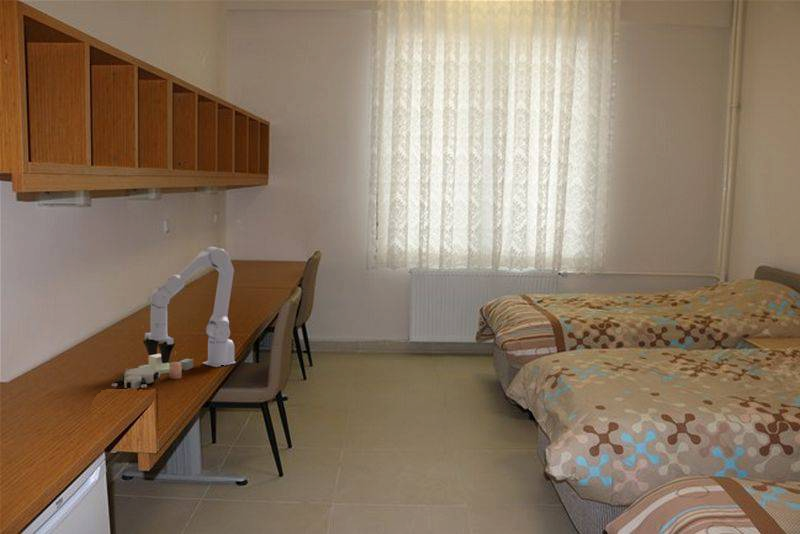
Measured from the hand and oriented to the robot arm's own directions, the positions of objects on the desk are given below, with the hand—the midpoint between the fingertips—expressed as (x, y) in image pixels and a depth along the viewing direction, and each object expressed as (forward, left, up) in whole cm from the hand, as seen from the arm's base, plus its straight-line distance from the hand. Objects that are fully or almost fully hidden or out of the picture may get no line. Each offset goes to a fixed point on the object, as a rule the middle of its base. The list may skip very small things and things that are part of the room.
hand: (158, 360), depth 254 cm
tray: (0, 0, -3) cm, 3 cm away
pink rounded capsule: (+2, +12, -3) cm, 13 cm away
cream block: (0, 0, -3) cm, 3 cm away
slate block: (-9, +4, -4) cm, 10 cm away
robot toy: (+16, +12, -4) cm, 21 cm away
